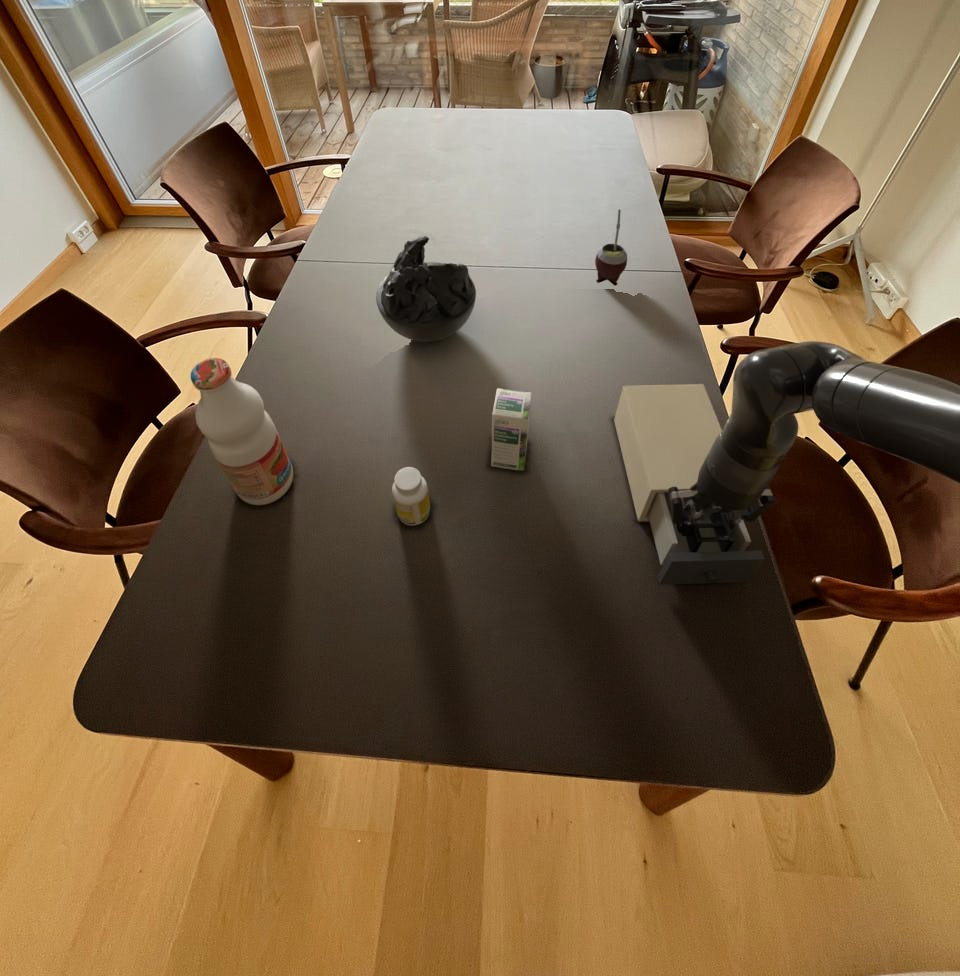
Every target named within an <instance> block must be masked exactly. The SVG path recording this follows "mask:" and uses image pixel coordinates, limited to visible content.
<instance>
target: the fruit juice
mask: <svg viewBox="0 0 960 976" xmlns="http://www.w3.org/2000/svg"><path fill="white" fill-rule="evenodd" d="M190 380H191V381H190V382H191V383H192V385H193V386H194V388H195V389H196V390H198V391H199V393H200V398H199V400H198V403H197V404H196V407H195V413H194V419H195V423H196V425H197V427H198V429H199V431H200V433H201V434H203V436H205V438H206V439H207V444H208V447H209V449H210V451H211V453H212V455H213V457H214V458H215V460H216V462H217V463H218V465H219V466H220V469H221V470H222V472H223V473H224V475H225V476H226V478H227V480H228V481H229V483H230V485H231V487H232V488H233V490H234V492H235V494H236V495H237V496H238V498H239V499H241V500H242V501H243V502H245V503H246V504H248V505H253V506H264V505H268V504H272V503H275V502H276V501H278V500H279V499H280V498H281V497H283V496H284V495H285V494H286V493H287V492H288V491H289V489H290V487H291V486H292V483H293V480H294V468H293V465H292V462H291V460H290V458H289V455H288V453H287V451H286V448H285V447H284V444H283V441H282V440H281V437H280V434H279V432H278V430H277V427H276V425H275V423H274V420H272V417H271V416H270V415H269V413H268V412H267V411H266V410H265V405H264V401H263V399H262V396H261V394H260V393H259V392H258V391H257V390H256V389H255V388H254V387H253V386H251V385H250V384H248V383H244V382H241V381H238V380H236V379H235V378H234V377H233V376H232V368H231V366H230V365H229V364H228V362H227V361H226V360H224V359H222V358H221V357H210V358H206V359H204V360H202V361H200V362H198V363H197V364H196V365H195V366H194V367H193V368H192V370H191V371H190Z"/></svg>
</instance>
